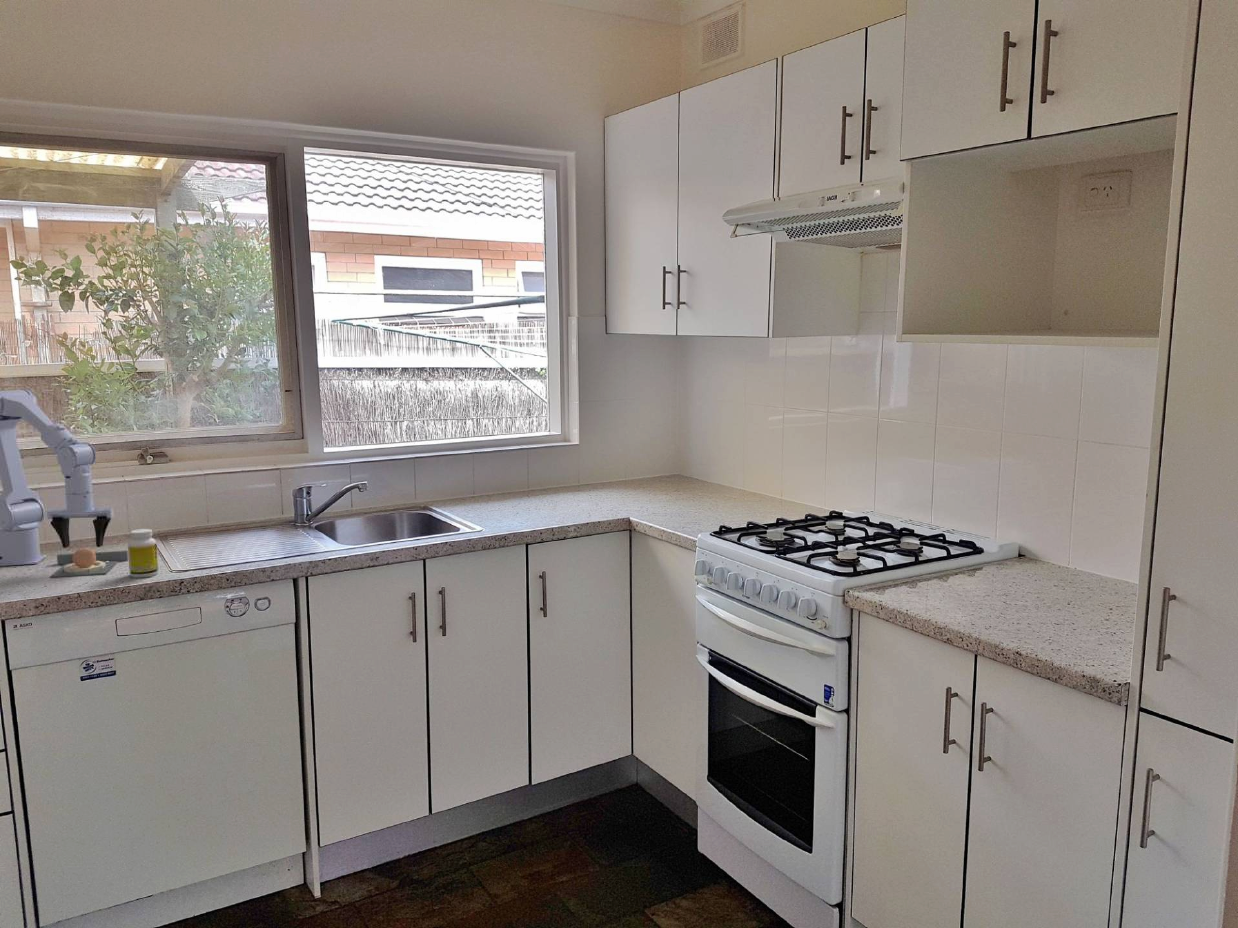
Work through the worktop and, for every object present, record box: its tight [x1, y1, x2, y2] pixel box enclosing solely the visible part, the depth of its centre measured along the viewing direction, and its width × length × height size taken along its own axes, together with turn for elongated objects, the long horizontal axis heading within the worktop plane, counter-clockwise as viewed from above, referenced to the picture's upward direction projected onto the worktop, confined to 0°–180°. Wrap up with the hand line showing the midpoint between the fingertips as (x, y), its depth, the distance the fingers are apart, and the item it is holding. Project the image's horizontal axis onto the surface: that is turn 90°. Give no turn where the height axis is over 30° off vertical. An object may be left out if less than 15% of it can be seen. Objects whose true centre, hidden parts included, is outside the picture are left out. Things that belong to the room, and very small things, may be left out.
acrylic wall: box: [56, 549, 129, 566], centre depth 235 cm, size 16×1×2 cm, turn 107°
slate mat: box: [50, 561, 119, 579], centre depth 228 cm, size 12×12×1 cm
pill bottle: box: [127, 528, 159, 579], centre depth 223 cm, size 6×6×11 cm
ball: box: [73, 547, 96, 568], centre depth 227 cm, size 5×5×5 cm
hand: (83, 546), depth 227 cm, fingers open, 7 cm apart
